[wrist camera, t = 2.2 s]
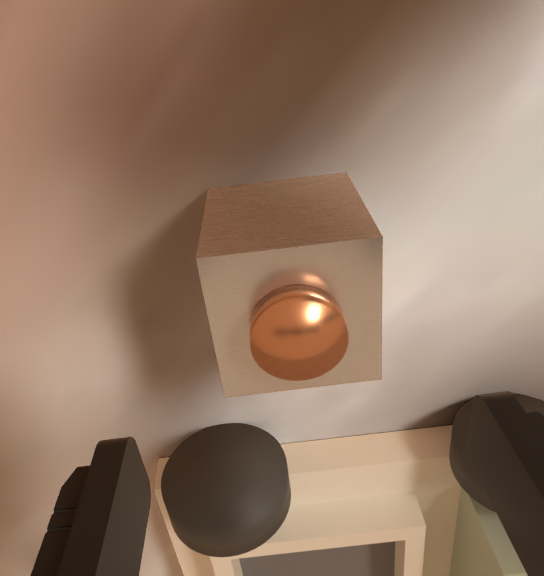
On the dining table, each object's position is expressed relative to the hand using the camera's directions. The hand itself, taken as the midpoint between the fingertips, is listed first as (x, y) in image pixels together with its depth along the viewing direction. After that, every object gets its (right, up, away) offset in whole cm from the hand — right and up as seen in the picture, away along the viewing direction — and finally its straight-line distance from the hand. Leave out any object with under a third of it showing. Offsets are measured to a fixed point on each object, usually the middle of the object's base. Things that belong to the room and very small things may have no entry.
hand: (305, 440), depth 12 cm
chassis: (+5, -11, +19) cm, 23 cm away
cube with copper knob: (0, +6, +9) cm, 11 cm away
